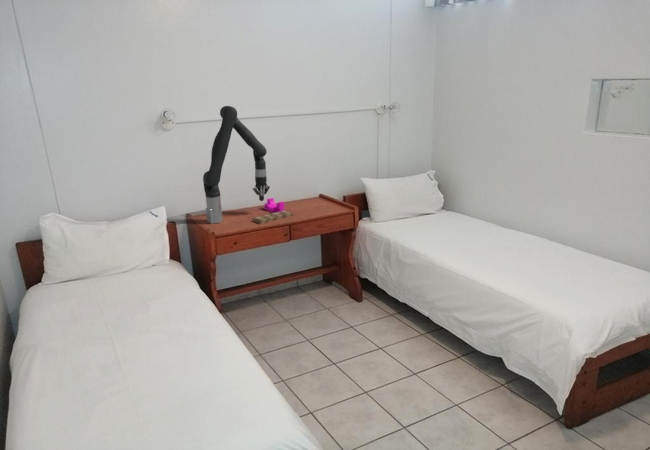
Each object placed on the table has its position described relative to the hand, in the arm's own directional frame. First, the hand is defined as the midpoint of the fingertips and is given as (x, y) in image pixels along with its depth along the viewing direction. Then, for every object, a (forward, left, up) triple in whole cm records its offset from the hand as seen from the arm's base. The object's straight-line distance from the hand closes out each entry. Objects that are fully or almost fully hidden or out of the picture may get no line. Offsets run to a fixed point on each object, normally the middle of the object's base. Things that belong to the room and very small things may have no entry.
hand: (261, 200), depth 317 cm
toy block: (+11, +1, -10) cm, 15 cm away
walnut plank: (-1, -13, -10) cm, 16 cm away
